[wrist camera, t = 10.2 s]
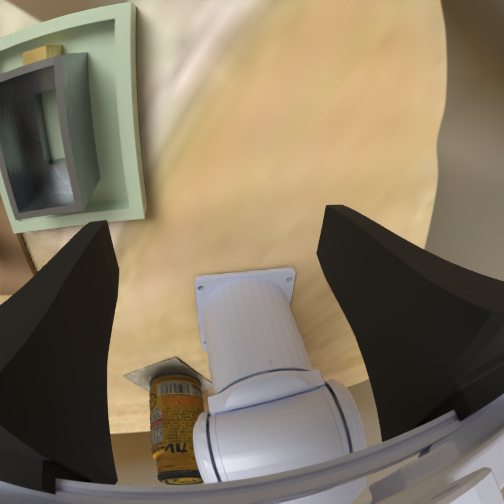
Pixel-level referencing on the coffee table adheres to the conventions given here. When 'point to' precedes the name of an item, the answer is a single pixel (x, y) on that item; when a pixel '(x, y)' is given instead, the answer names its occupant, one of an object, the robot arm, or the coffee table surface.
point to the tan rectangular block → (12, 257)
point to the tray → (103, 110)
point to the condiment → (173, 417)
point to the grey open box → (35, 135)
